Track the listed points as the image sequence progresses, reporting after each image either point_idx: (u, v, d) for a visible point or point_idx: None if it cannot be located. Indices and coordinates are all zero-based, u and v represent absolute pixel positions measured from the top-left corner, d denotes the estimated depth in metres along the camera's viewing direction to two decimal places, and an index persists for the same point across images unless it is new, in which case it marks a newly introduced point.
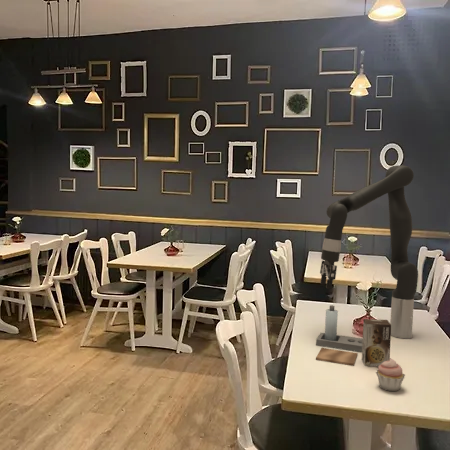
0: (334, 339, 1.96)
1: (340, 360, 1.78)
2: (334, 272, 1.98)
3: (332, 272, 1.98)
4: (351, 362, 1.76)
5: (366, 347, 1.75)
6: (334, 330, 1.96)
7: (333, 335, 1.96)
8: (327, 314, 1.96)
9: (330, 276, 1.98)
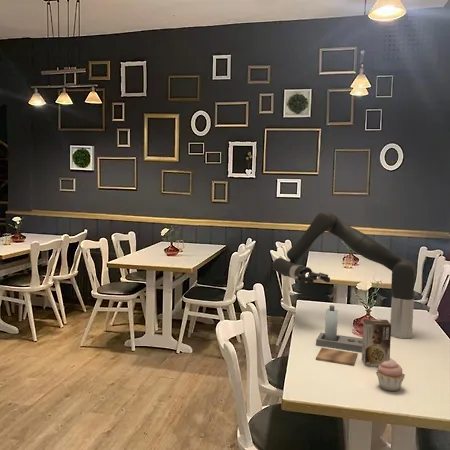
0: (334, 339, 1.96)
1: (340, 360, 1.78)
2: (298, 277, 2.12)
3: (298, 278, 2.12)
4: (351, 362, 1.76)
5: (366, 347, 1.75)
6: (334, 330, 1.96)
7: (333, 335, 1.96)
8: (327, 314, 1.96)
9: (300, 281, 2.10)
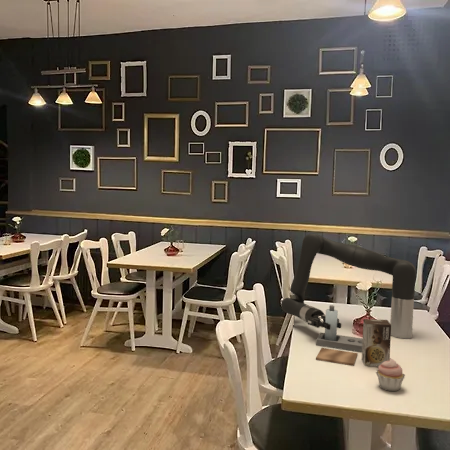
0: (334, 339, 1.96)
1: (340, 360, 1.78)
2: (312, 321, 2.00)
3: (312, 323, 2.00)
4: (351, 362, 1.76)
5: (366, 347, 1.75)
6: (334, 330, 1.96)
7: (333, 335, 1.96)
8: (327, 314, 1.96)
9: (315, 326, 1.98)
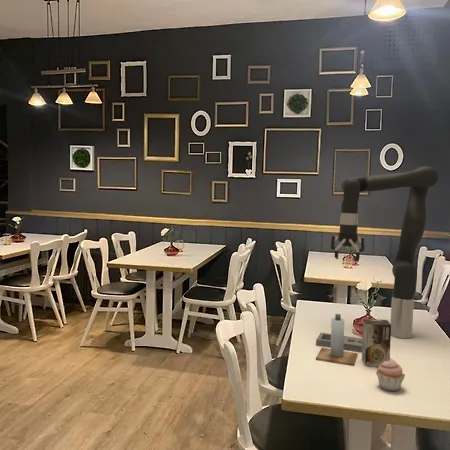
0: (341, 351, 1.81)
1: (340, 360, 1.78)
2: None
3: None
4: (351, 362, 1.76)
5: (366, 347, 1.75)
6: (341, 341, 1.80)
7: (341, 346, 1.80)
8: (333, 324, 1.80)
9: None
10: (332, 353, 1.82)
